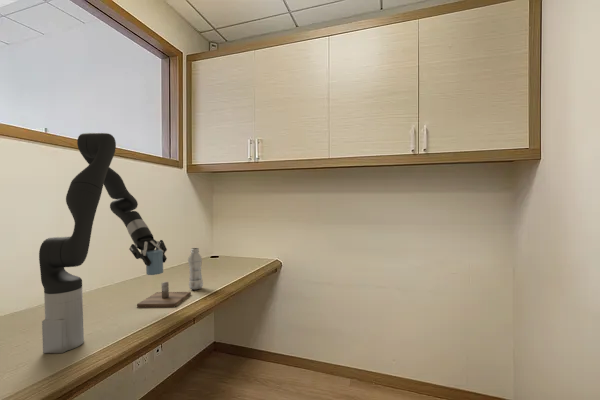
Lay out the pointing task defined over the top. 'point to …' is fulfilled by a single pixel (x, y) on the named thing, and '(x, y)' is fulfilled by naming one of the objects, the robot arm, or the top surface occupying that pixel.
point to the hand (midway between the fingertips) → (157, 262)
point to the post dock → (164, 298)
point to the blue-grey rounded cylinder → (155, 262)
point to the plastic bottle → (195, 269)
